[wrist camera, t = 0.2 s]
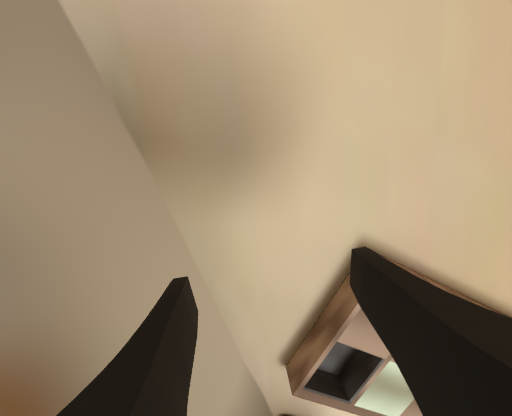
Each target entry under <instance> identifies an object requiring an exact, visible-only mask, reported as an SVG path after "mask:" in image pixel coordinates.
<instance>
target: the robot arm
mask: <svg viewBox="0 0 512 416" xmlns="http://www.w3.org/2000/svg"><path fill="white" fill-rule="evenodd" d="M350 287H351V289H352V291H353V293H354V295H355V298H356V300H357V302H358V304H359V306H360V307H361V309H362V310H363V312H364V314H365V315H366V317H367V318H368V320H369V322H370V323H371V325H372V326H373V328H374V329H375V331H376V332H377V334H378V336H379V337H380V339H381V340H382V342H383V343H384V345H385V346H386V348H387V350H388V351H389V353H390V354H391V356H392V358H393V359H394V361H395V363H396V364H397V366H398V368H399V370H400V372H401V374H402V376H403V378H404V379H405V381H406V383H407V385H408V387H409V389H410V391H411V393H412V395H413V397H414V399H415V401H416V403H417V405H418V407H419V409H420V411H421V413H422V415H423V416H512V318H510V317H507V316H505V315H502V314H499V313H497V312H494V311H491V310H489V309H486V308H484V307H481V306H479V305H476V304H474V303H472V302H469V301H467V300H465V299H462V298H460V297H458V296H456V295H453V294H451V293H449V292H447V291H445V290H443V289H441V288H439V287H437V286H435V285H433V284H431V283H429V282H427V281H425V280H423V279H421V278H419V277H417V276H415V275H414V274H412V273H410V272H408V271H406V270H405V269H403V268H401V267H399V266H398V265H396V264H394V263H392V262H391V261H389V260H387V259H386V258H384V257H382V256H381V255H379V254H377V253H375V252H374V251H372V250H370V249H368V248H366V247H362V248H356V249H352V255H351V270H350ZM197 328H198V309H197V306H196V303H195V299H194V296H193V293H192V289H191V287H190V283H189V280H188V277H181V278H175V279H173V280H172V281H171V282H170V284H169V285H168V287H167V288H166V290H165V291H164V293H163V294H162V296H161V297H160V299H159V300H158V302H157V303H156V305H155V306H154V308H153V309H152V310H151V312H150V313H149V315H148V316H147V317H146V319H145V320H144V321H143V323H142V324H141V326H140V327H139V328H138V329H137V331H136V332H135V333H134V334H133V336H132V337H131V338H130V340H129V341H128V342H127V343H126V345H125V346H124V347H123V348H122V350H120V352H119V353H118V354H117V355H116V356H115V358H114V359H113V360H112V361H111V362H110V363H109V364H108V365H107V366H106V367H105V368H104V370H103V371H102V372H101V373H100V374H99V375H98V376H97V377H96V378H95V379H94V380H93V381H92V382H91V383H90V384H89V385H88V386H87V387H86V388H85V389H84V390H83V391H82V392H81V393H80V394H79V395H78V396H77V397H76V398H75V399H74V400H73V401H72V402H71V403H69V404H68V405H67V406H66V407H65V408H64V409H63V410H62V411H61V412H60V413H59V414H58V415H56V416H187V403H188V394H189V387H190V380H191V374H192V367H193V361H194V354H195V347H196V340H197Z"/></svg>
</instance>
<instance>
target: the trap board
mask: <svg viewBox="0 0 512 416" xmlns="http://www.w3.org/2000/svg"><path fill="white" fill-rule="evenodd" d="M382 257H383V256H382ZM384 258H385V257H384ZM386 259H387V258H386ZM387 260H389V259H387ZM389 261H391V260H389ZM391 262H392V263H394V264H396V265H398V266H399V267H401V268H403V269H405V270H406V271H408V272H410V273H412V274H414V275H415V276H417V277H419V278H421V279H423V280H425V281H427V282H429V283H431V284H433V285H435V286H437V287H439V288H441V289H443V290H445V291H447V292H449V293H451V294H453V295H456V296H458V297H460V298H462V299H465V300H467V301H469V302H472V303H474V304H476V305H479V306H481V307H484V308H486V309H489V310H491V311H494V312H497V311H495V310H493V309H491V308H489V307H486V306H484V305H482V304H480V303H478V302H476V301H474V300H472V299H470V298H468V297H466V296H464V295H462V294H460V293H458V292H455V291H453V290H451V289H449V288H447V287H445V286H443V285H441V284H439V283H437V282H435V281H433V280H431V279H429V278H427V277H424V276H422V275H420V274H418V273H416V272H414V271H412V270H410V269H408V268H406V267H404V266H402V265H400V264H398V263H395V262H393V261H391ZM497 313H499V312H497ZM499 314H501V313H499ZM502 315H503V314H502ZM286 369H287V374H288V378H289V383H290V387H291V391H292V396H296V397H299V398H302V399H306V400H309V401H312V402H316V403H319V404H322V405H326V406H329V407H332V408H336V409H339V410H342V411H346V412H349V413H352V414H356V415H359V416H423V415H422V413H421V411H420V409H419V407H418V405H417V403H416V401H415V399H414V397H413V395H412V393H411V391H410V389H409V387H408V385H407V383H406V381H405V379H404V378H403V376H402V374H401V372H400V370H399V368H398V366H397V364H396V363H395V361H394V359H393V358H392V356H391V354H390V353H389V351H388V350H387V348H386V346H385V345H384V343H383V342H382V340H381V339H380V337H379V336H378V334H377V332H376V331H375V329H374V328H373V326H372V325H371V323H370V322H369V320H368V318H367V317H366V315H365V314H364V312H363V310H362V309H361V307H360V306H359V304H358V302H357V300H356V298H355V295H354V293H353V291H352V289H351V287H350V273H349V275H348V276H347V278H346V279H345V280H344V282H343V283H342V285H341V286H340V288H339V289H338V291H337V292H336V294H335V295H334V297H333V298H332V300H331V301H330V303H329V304H328V305H327V307H326V308H325V310H324V311H323V313H322V314H321V316H320V317H319V319H318V320H317V322H316V323H315V325H314V326H313V328H312V329H311V331H310V332H309V333H308V335H307V336H306V338H305V339H304V341H303V342H302V344H301V345H300V347H299V348H298V350H297V351H296V353H295V354H294V356H293V357H292V359H291V360H290V361H289V363H288V364H287V366H286Z"/></svg>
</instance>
